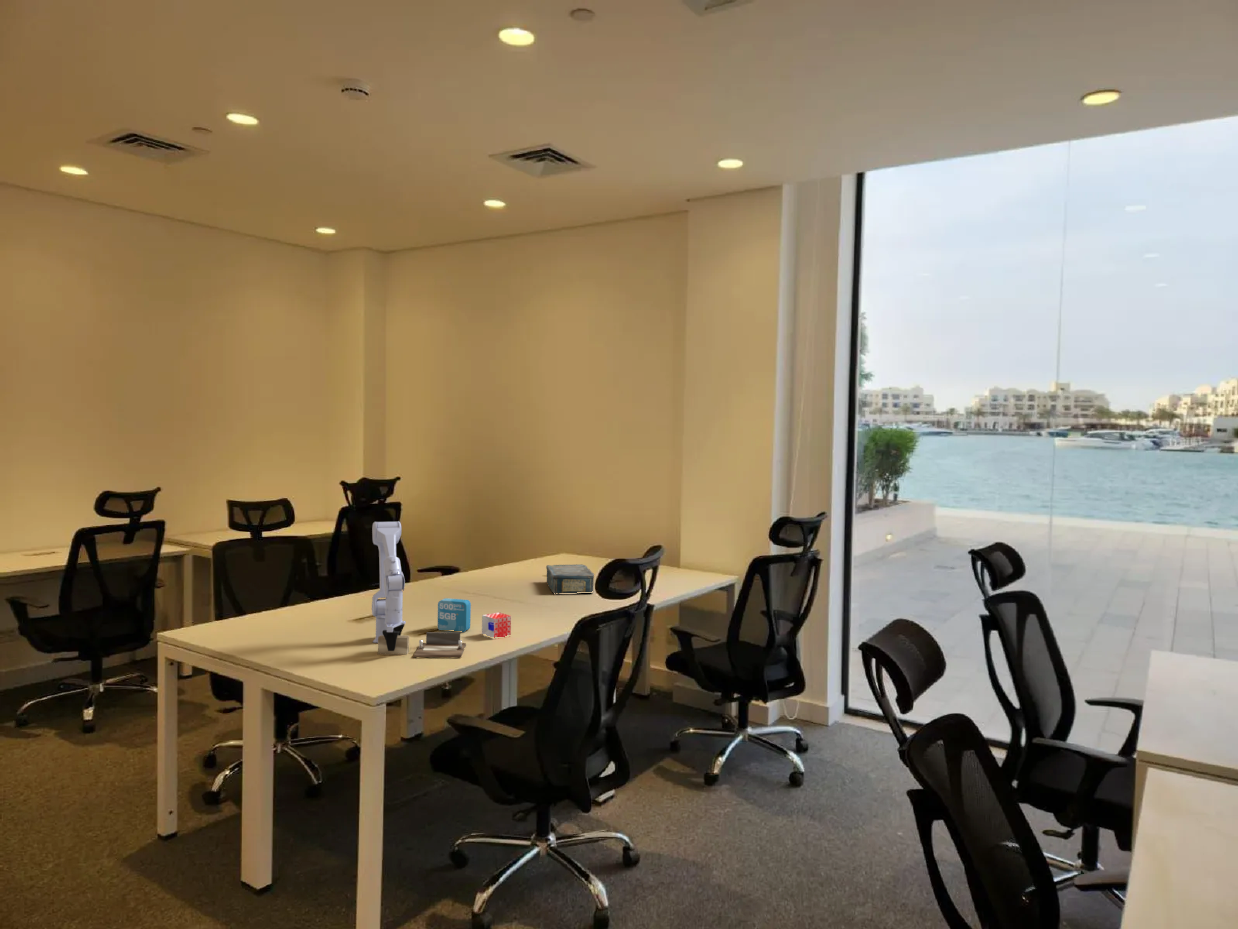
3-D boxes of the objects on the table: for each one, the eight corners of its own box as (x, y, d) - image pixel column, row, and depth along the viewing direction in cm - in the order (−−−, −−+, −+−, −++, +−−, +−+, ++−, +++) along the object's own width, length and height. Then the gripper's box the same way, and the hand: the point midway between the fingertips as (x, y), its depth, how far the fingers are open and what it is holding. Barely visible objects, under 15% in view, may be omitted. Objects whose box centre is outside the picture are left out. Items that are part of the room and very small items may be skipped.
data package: (437, 630, 318) (437, 600, 317) (442, 628, 322) (442, 597, 322) (465, 632, 315) (466, 602, 315) (470, 630, 320) (471, 600, 319)
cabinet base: (421, 645, 295) (421, 632, 295) (465, 645, 297) (466, 632, 296) (413, 658, 279) (413, 643, 279) (460, 658, 281) (461, 643, 280)
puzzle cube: (510, 636, 312) (511, 615, 312) (493, 639, 307) (494, 618, 306) (498, 632, 318) (498, 612, 318) (481, 635, 312) (481, 615, 312)
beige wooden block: (379, 652, 286) (379, 635, 285) (408, 652, 287) (408, 635, 286) (377, 654, 283) (378, 637, 282) (407, 654, 284) (407, 637, 283)
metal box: (551, 595, 391) (551, 575, 391) (545, 583, 423) (545, 564, 423) (594, 595, 395) (595, 574, 395) (585, 582, 427) (585, 564, 427)
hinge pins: (419, 648, 288) (419, 640, 288) (461, 648, 289) (462, 640, 289) (419, 649, 287) (419, 640, 287) (461, 649, 288) (461, 641, 288)
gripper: (401, 614, 277) (401, 653, 278) (409, 604, 292) (408, 642, 292) (380, 613, 277) (380, 653, 277) (389, 604, 291) (388, 642, 291)
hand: (393, 647), depth 285 cm, fingers open, 7 cm apart
